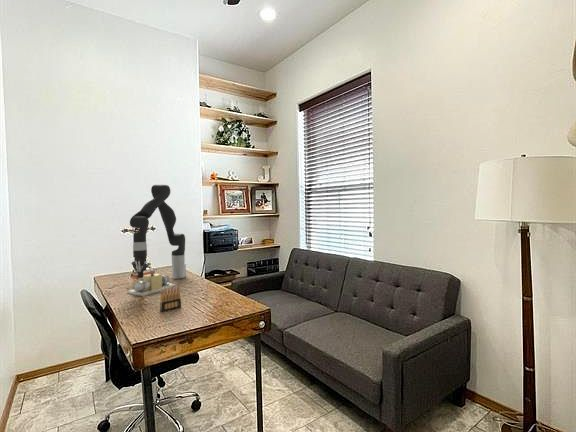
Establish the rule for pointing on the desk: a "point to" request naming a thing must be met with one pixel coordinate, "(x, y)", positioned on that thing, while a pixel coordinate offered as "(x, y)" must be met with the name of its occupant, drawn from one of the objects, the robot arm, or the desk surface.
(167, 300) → the ammunition clip
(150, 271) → the valve lever
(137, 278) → the pneumatic valve
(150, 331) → the desk surface
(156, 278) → the valve stand
